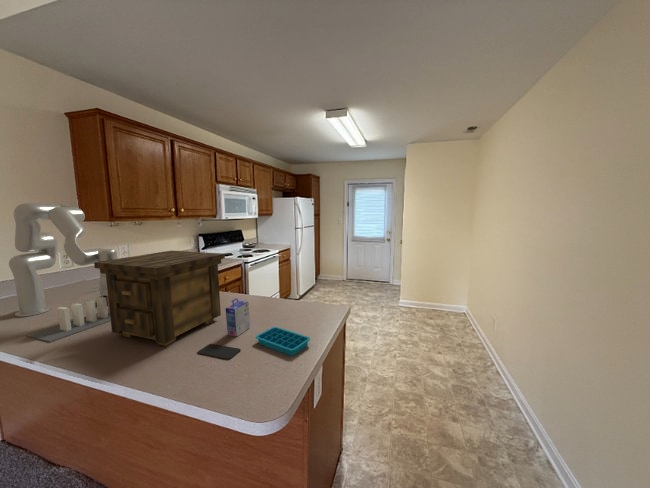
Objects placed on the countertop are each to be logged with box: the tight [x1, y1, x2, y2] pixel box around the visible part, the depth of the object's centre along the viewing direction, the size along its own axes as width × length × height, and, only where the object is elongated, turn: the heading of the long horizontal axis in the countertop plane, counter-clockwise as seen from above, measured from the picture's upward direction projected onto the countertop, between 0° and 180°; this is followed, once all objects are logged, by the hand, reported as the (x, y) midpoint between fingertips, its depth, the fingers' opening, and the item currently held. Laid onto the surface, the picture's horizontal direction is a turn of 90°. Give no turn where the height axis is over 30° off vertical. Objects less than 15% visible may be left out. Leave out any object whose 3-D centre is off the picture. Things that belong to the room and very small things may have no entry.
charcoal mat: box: [26, 311, 111, 343], centre depth 125 cm, size 17×33×1 cm, turn 161°
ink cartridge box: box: [224, 297, 251, 337], centre depth 115 cm, size 10×6×14 cm, turn 161°
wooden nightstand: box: [94, 250, 226, 347], centre depth 118 cm, size 35×35×33 cm
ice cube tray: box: [255, 326, 311, 356], centre depth 104 cm, size 12×20×3 cm, turn 57°
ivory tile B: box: [83, 299, 97, 322], centre depth 127 cm, size 5×2×10 cm, turn 71°
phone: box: [197, 343, 242, 361], centre depth 99 cm, size 7×1×15 cm
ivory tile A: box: [95, 296, 108, 318], centre depth 131 cm, size 5×2×10 cm, turn 71°
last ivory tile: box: [57, 306, 71, 331], centre depth 117 cm, size 5×2×10 cm, turn 71°
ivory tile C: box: [70, 302, 85, 326], centre depth 122 cm, size 5×2×10 cm, turn 71°
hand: (113, 305), depth 136 cm, fingers open, 9 cm apart
